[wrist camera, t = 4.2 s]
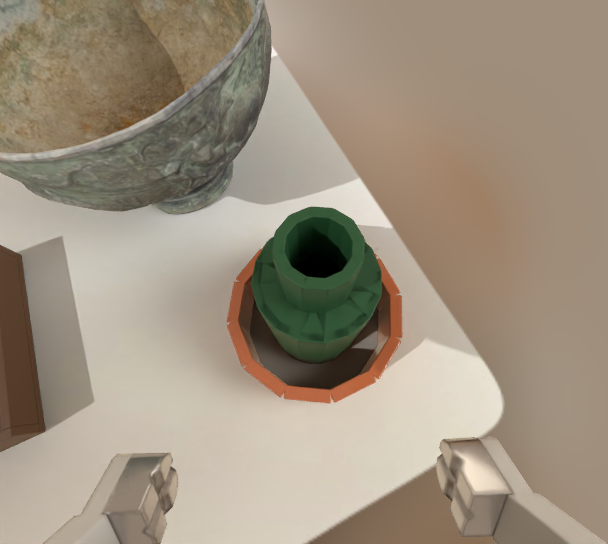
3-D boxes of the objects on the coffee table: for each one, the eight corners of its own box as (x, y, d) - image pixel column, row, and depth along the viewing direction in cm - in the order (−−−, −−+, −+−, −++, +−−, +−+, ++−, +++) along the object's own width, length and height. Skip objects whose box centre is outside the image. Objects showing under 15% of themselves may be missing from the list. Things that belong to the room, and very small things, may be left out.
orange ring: (388, 408, 22) (404, 411, 19) (229, 392, 23) (213, 391, 19) (388, 260, 27) (400, 238, 23) (253, 249, 27) (244, 226, 24)
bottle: (353, 367, 24) (402, 335, 11) (268, 359, 24) (222, 318, 11) (356, 286, 26) (399, 183, 13) (279, 280, 26) (250, 174, 14)
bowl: (102, 303, 26) (-145, 194, 12) (67, 136, 32) (-117, -60, 18) (321, 217, 28) (332, 45, 14) (248, 79, 35) (207, -131, 21)
